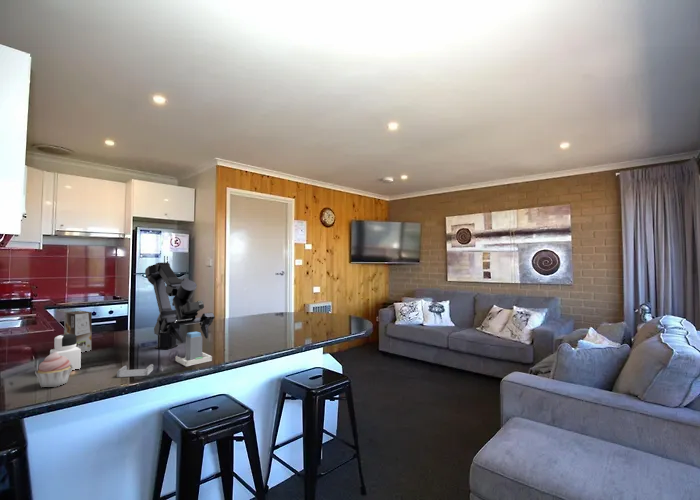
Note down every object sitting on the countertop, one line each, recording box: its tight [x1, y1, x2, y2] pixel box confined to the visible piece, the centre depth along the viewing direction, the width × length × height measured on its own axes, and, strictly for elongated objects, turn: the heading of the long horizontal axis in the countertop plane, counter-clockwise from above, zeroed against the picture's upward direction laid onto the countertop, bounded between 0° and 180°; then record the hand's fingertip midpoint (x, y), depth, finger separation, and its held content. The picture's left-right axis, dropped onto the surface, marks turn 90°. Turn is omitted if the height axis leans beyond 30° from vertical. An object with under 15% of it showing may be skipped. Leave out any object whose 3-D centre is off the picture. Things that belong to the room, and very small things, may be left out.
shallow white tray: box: [116, 363, 154, 378], centre depth 121 cm, size 6×9×2 cm, turn 101°
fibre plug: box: [184, 331, 203, 361], centre depth 136 cm, size 4×4×10 cm
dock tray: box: [175, 351, 213, 367], centre depth 136 cm, size 10×10×2 cm
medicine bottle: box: [49, 333, 82, 371], centre depth 125 cm, size 7×7×12 cm
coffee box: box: [63, 310, 93, 353], centre depth 149 cm, size 9×6×16 cm
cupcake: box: [34, 352, 73, 388], centre depth 111 cm, size 9×9×10 cm
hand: (195, 339), depth 135 cm, fingers open, 9 cm apart
